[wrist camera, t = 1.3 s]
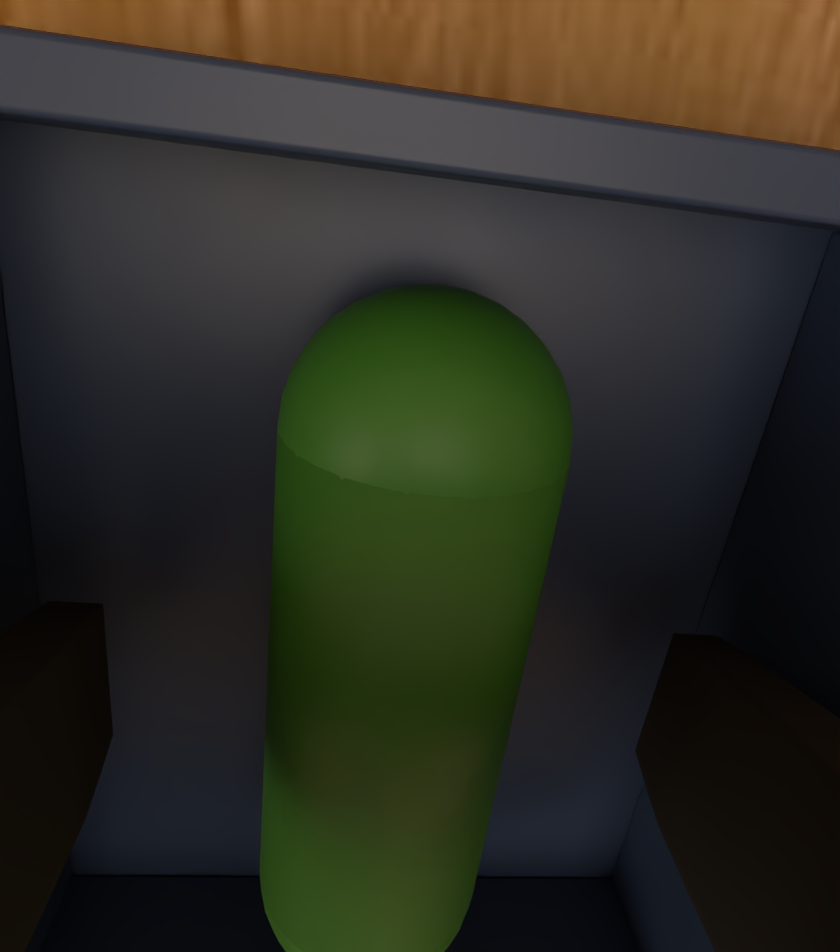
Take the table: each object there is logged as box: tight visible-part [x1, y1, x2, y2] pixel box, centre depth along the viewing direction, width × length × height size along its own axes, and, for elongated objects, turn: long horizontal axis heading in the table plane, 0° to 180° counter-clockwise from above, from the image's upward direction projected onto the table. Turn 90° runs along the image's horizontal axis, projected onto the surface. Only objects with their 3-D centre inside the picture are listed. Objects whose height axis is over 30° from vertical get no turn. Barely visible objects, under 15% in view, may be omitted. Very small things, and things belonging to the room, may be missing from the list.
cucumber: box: [260, 284, 573, 952], centre depth 9 cm, size 10×3×3 cm, turn 173°
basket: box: [0, 25, 840, 952], centre depth 9 cm, size 13×11×4 cm
